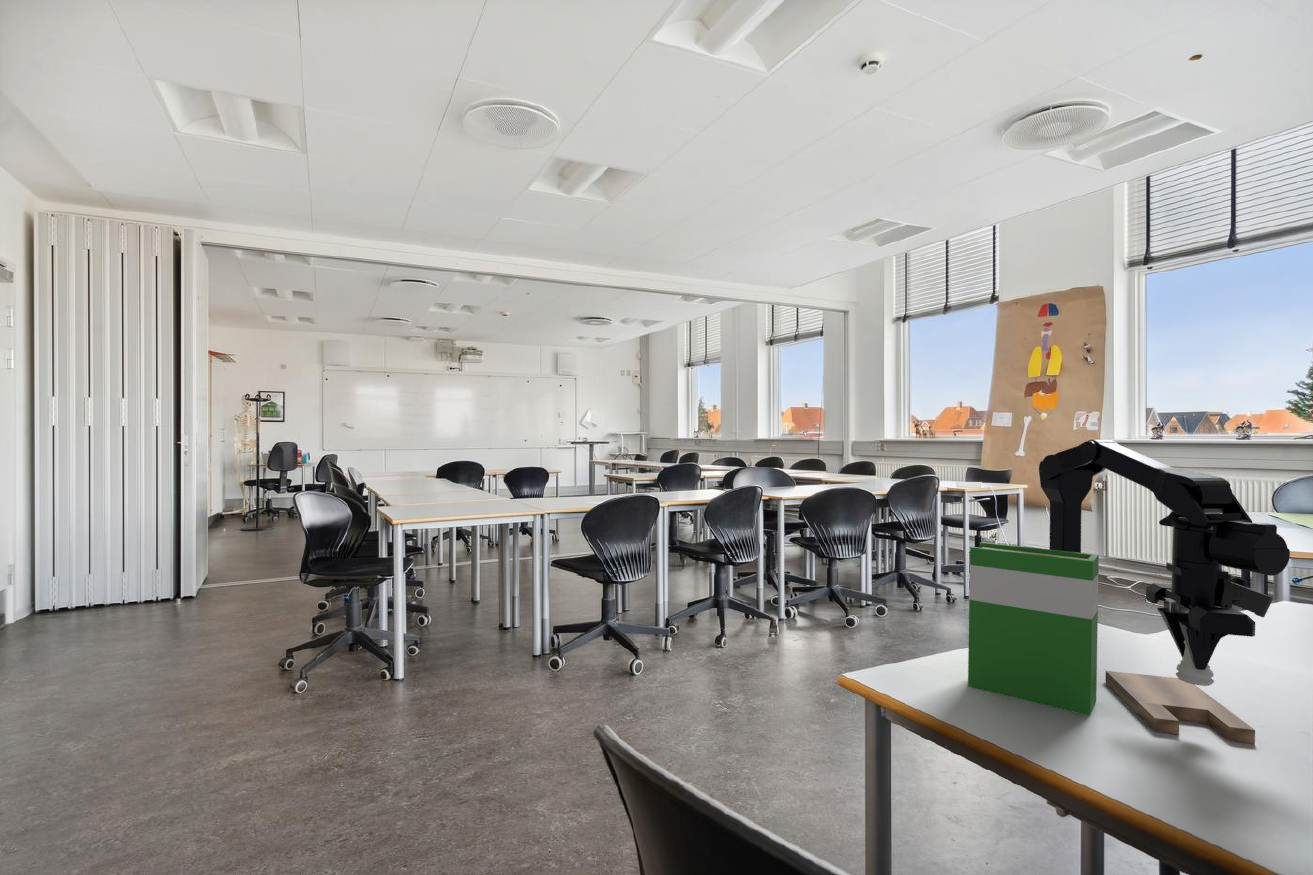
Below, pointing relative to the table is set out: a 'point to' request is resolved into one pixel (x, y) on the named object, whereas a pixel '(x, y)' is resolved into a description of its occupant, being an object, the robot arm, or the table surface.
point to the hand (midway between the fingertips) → (1194, 665)
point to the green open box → (1034, 625)
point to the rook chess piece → (1193, 671)
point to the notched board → (1176, 705)
